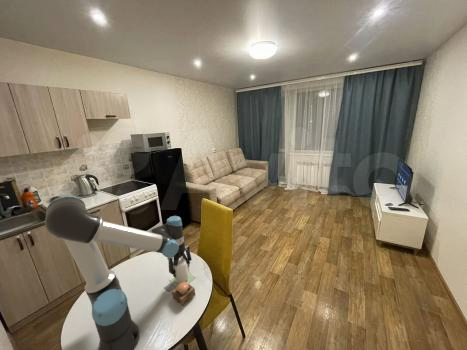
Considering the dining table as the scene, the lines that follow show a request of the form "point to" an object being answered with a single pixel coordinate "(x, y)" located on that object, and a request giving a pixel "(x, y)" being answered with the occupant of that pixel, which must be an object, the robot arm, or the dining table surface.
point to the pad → (185, 281)
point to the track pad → (169, 287)
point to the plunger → (182, 288)
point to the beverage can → (181, 270)
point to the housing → (186, 297)
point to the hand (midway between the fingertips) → (182, 276)
